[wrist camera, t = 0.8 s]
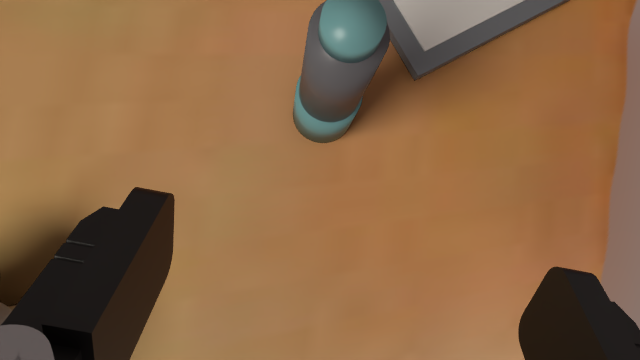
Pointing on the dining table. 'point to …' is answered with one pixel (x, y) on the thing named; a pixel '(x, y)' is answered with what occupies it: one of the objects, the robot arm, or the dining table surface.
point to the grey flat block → (453, 27)
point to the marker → (338, 66)
